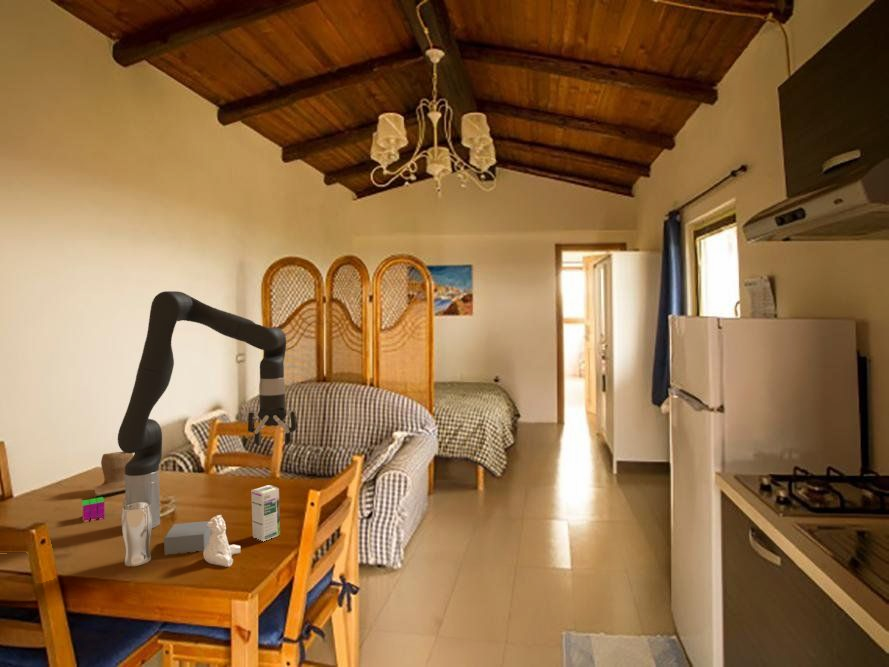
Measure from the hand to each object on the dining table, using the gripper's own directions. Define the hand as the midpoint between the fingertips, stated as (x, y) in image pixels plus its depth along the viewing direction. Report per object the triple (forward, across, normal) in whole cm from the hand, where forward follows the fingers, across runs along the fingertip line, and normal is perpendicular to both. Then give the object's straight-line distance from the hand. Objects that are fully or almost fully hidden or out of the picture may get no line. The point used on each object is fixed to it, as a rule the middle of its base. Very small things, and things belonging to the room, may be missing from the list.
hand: (273, 445), depth 157 cm
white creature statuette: (+26, -9, -20) cm, 34 cm away
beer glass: (+26, -31, -18) cm, 45 cm away
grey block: (+26, -22, -10) cm, 35 cm away
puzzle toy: (+26, -62, +14) cm, 69 cm away
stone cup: (+26, -70, +42) cm, 85 cm away
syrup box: (+26, -1, -6) cm, 27 cm away
